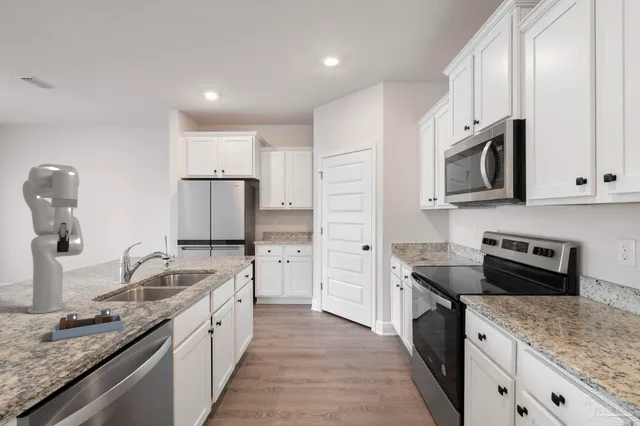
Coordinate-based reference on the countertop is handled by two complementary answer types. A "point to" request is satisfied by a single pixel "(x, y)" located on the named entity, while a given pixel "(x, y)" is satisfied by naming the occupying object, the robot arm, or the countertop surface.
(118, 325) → the tray
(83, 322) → the bolt
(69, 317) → the peg
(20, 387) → the countertop surface
